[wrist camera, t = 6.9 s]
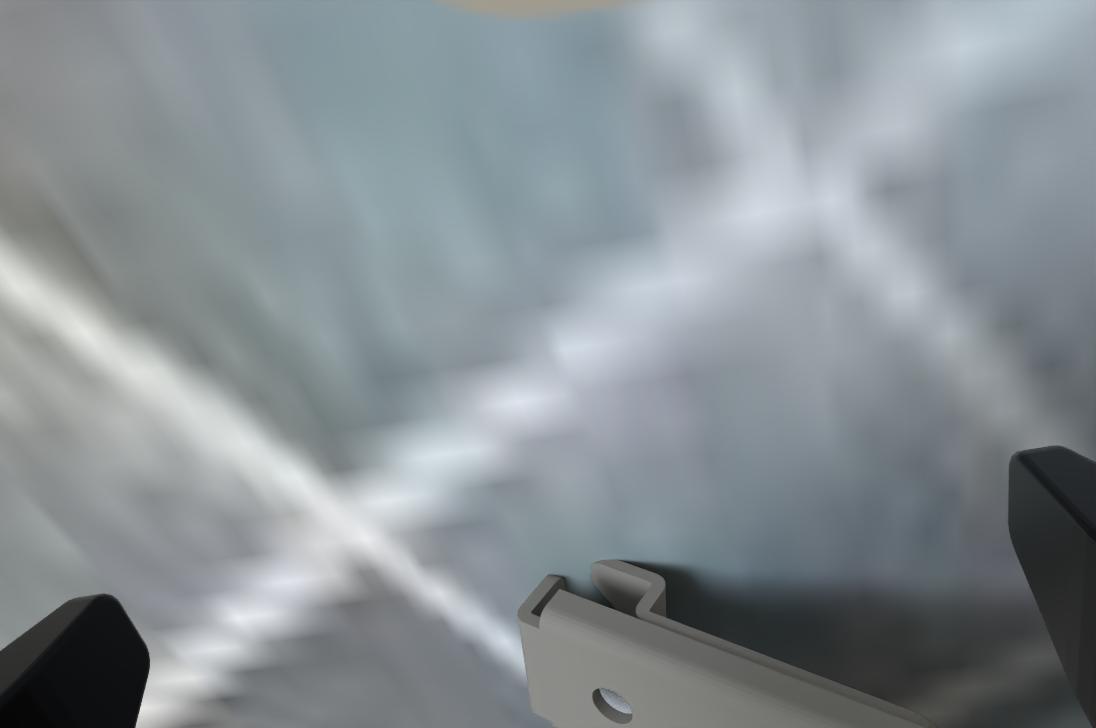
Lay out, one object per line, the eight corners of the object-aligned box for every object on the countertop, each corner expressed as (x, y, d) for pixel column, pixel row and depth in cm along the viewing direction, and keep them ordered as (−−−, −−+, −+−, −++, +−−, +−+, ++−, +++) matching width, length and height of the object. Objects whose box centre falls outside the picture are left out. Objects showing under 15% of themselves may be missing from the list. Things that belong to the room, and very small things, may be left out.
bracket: (1135, 808, 28) (1100, 1173, 20) (688, 638, 35) (546, 864, 28) (1235, 535, 22) (1233, 898, 15) (684, 401, 30) (507, 605, 22)
